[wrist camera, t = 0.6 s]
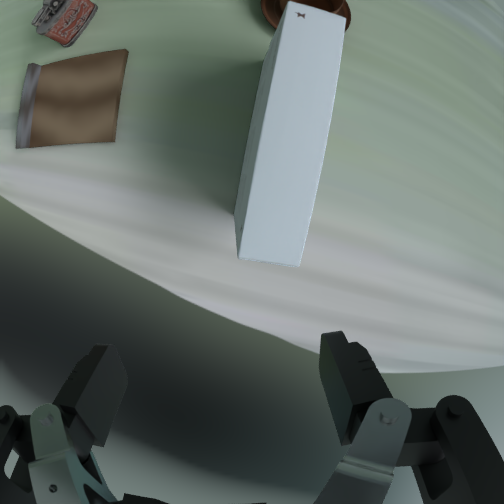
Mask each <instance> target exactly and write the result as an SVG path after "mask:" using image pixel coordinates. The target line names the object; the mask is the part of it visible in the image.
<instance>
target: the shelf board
mask: <svg viewBox="0 0 504 504" xmlns="http://www.w3.org/2000/svg"><path fill="white" fill-rule="evenodd" d="M128 53H129V52H128V51H127V50H126V49H122V50H114V51H107V52H101V53H95V54H90V55H84V56H79V57H75V58H70V59H66V60H62V61H58V62H54V63H50V64H47V65H43V66H40V65H37V64H35V63H31V64H28V68H27V72H26V76H25V81H24V86H23V91H22V97H21V103H20V110H19V117H18V126H17V136H16V149H19V148H33V147H42V146H52V145H63V144H77V143H97V142H115V136H116V126H117V118H118V110H119V102H120V96H121V89H122V83H123V78H124V72H125V67H126V62H127V57H128Z"/></svg>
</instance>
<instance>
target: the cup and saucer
mask: <svg viewBox="0 0 504 504" xmlns="http://www.w3.org/2000/svg"><path fill="white" fill-rule="evenodd" d="M288 1H292V2H296V3H300V4H303V5H307V6H311V7H314V8H318V9H321V10H324V11H327V12H330V13H333V14H336V15H339V16H342V17H344V18H346V24H345V31H346V30H347V29H348V27H349V25H350V21H351V13H350V9H349V6H348V4H347V2H346V0H261V9H262V12H263V14H264V16H265V18H266V19H267V21H268V22H269V23H270V24H271V25H272V26H273V27H274V28H275V29H276V30H277V27H278V25H279V22H280V19H281V17H282V14H283V12H284V10H285V7H286V5H287V3H288Z"/></svg>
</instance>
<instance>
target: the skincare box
mask: <svg viewBox="0 0 504 504" xmlns="http://www.w3.org/2000/svg"><path fill="white" fill-rule="evenodd" d="M345 24H346V18H344V17H342V16H339V15H336V14H333V13H330V12H327V11H324V10H321V9H318V8H314V7H311V6H307V5H303V4H300V3H296V2H292V1H288V3H287V5H286V7H285V10H284V12H283V14H282V17H281V19H280V22H279V25H278V27H277V30H276V31H275V33H274V36H273V38H272V40H271V43H270V46H269V49H268V52H267V54H266V56H265V59H264V61H263V66H262V71H261V76H260V80H259V85H258V89H257V94H256V100H255V105H254V109H253V114H252V119H251V124H250V129H249V134H248V139H247V145H246V150H245V155H244V161H243V166H242V172H241V177H240V183H239V188H238V194H237V200H236V205H235V211H234V221H235V232H236V245H237V256H238V259H246V260H252V261H258V262H264V263H270V264H277V265H283V266H292V267H299V265H300V262H301V258H302V254H303V250H304V246H305V241H306V237H307V233H308V228H309V224H310V220H311V215H312V211H313V206H314V202H315V197H316V192H317V188H318V183H319V178H320V174H321V169H322V164H323V159H324V154H325V149H326V144H327V138H328V133H329V128H330V122H331V117H332V111H333V105H334V99H335V93H336V87H337V81H338V74H339V68H340V61H341V54H342V47H343V39H344V32H345Z"/></svg>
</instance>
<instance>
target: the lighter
mask: <svg viewBox="0 0 504 504" xmlns="http://www.w3.org/2000/svg"><path fill="white" fill-rule="evenodd" d="M97 9H98V7H97V5H96V4H95V3H92V2H91V1H90V0H44V2H43V7H42V8H41V9H40V10H39V12H38V13H37V15H36V16H35V18H34V19H33V21H32V25H34V26H36V27H37V29H36V32H37V33H38V34H40V35H45V36H47V37H49V38H51V39H53V40H55V41H57V42H59V43H60V44H61V45H62V46H64V47H70V46H71V45H72V44H73V43H74V42H75V41H76V40H77V39H78V38H79V36H80V35H81V34H82V33H83V31H84V30H85V29H86V27H87V26H88V24H89V23H90V21H91V20H92V18H93V17H94V15H95V13H96V12H97Z"/></svg>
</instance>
